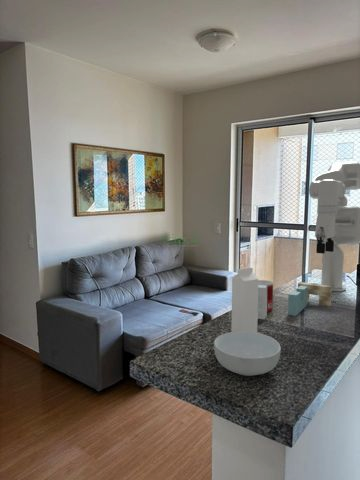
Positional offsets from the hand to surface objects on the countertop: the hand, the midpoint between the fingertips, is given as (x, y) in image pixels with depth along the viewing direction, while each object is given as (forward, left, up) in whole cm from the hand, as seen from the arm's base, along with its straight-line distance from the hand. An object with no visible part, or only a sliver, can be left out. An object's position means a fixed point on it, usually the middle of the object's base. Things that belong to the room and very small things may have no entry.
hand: (325, 252), depth 146 cm
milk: (+49, -14, -22) cm, 56 cm away
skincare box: (+30, -17, -22) cm, 41 cm away
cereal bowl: (+70, -4, -22) cm, 74 cm away
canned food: (+20, -19, -22) cm, 35 cm away
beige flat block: (0, -4, -22) cm, 22 cm away
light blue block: (+13, -7, -22) cm, 26 cm away
